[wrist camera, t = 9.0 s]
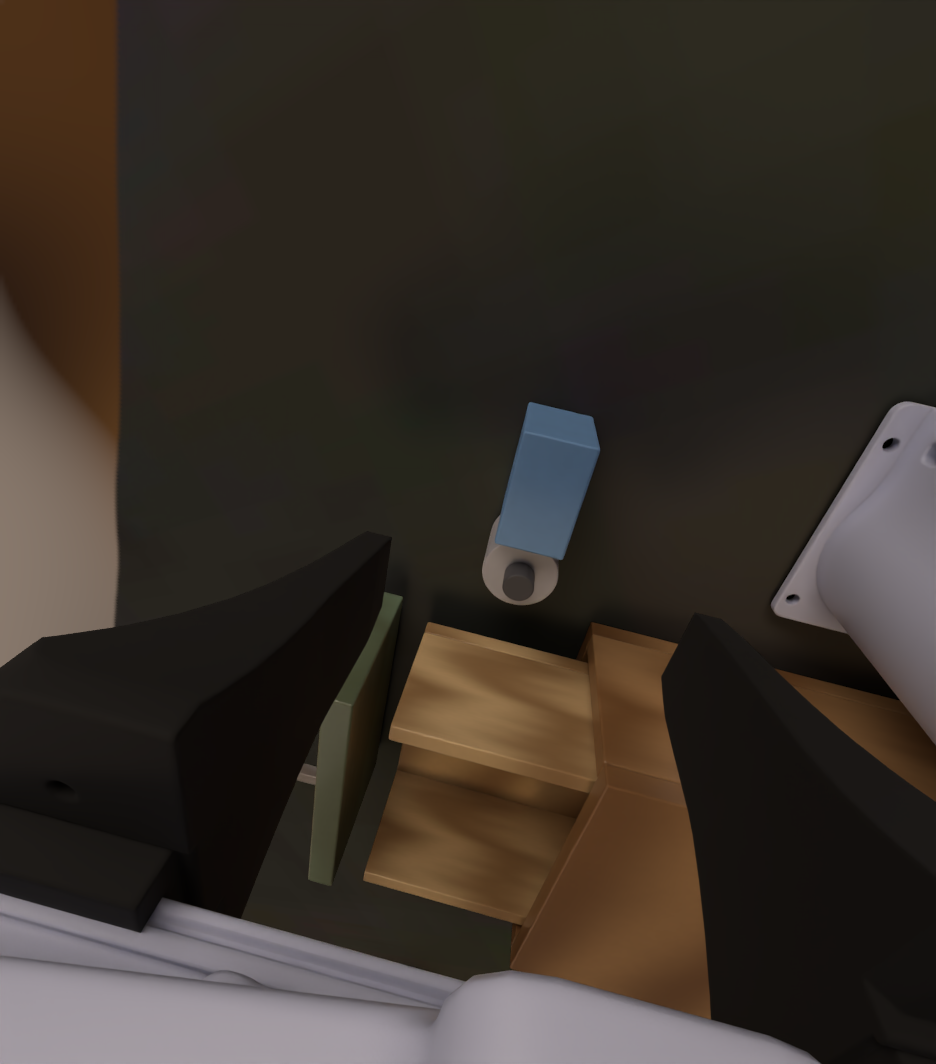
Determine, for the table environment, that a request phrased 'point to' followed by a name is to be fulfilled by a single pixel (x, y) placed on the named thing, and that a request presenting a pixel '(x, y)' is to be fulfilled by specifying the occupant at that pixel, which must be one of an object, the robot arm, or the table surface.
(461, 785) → the drawer
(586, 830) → the cabinet
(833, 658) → the table surface
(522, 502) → the blue block on disc
